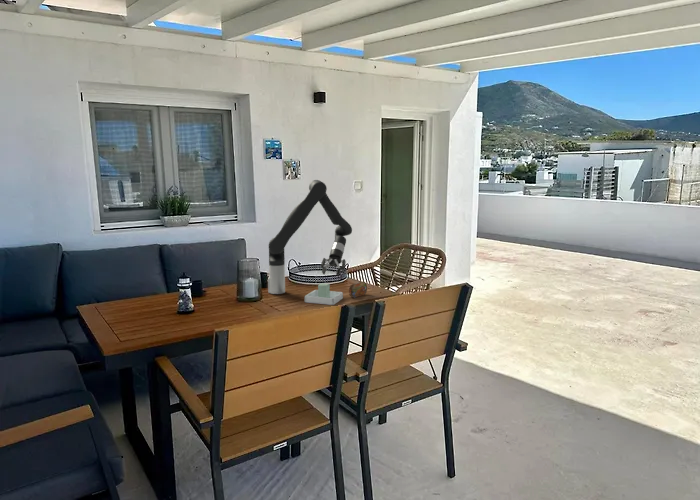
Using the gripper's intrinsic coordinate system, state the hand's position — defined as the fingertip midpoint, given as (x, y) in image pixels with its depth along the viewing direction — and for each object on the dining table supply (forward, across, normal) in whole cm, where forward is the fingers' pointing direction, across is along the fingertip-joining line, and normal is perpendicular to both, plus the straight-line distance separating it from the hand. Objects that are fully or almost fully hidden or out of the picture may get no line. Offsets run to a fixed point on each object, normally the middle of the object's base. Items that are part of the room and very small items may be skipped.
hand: (330, 274), depth 279 cm
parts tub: (+17, 0, +2) cm, 17 cm away
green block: (+16, 0, +2) cm, 16 cm away
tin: (+6, +15, +14) cm, 21 cm away
